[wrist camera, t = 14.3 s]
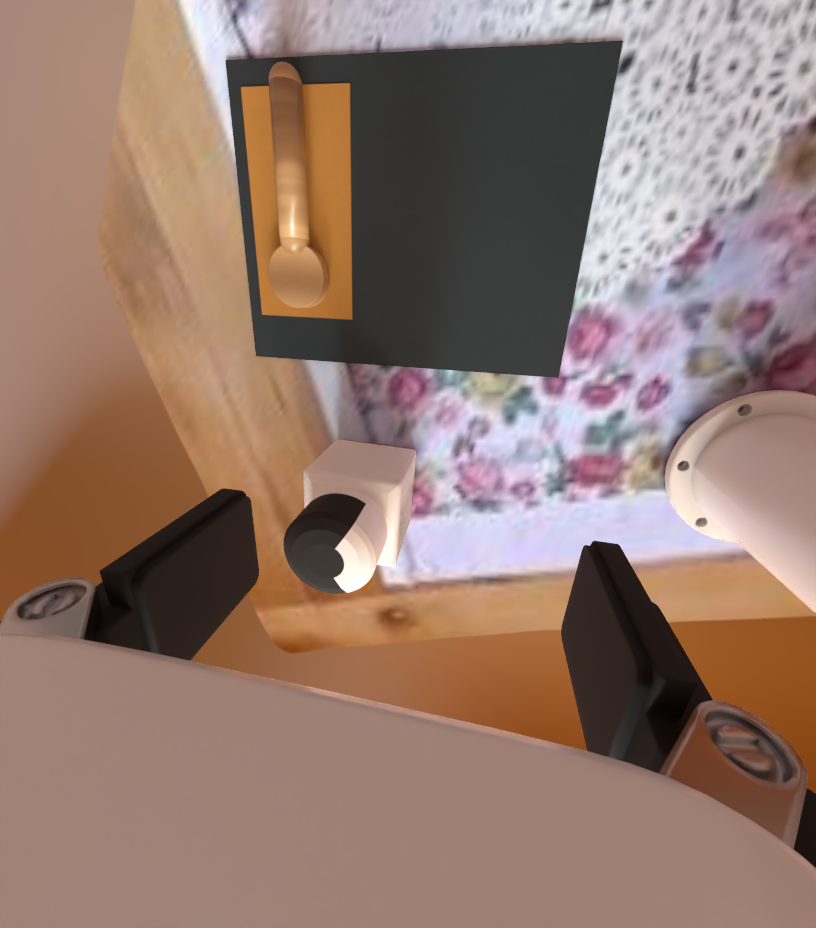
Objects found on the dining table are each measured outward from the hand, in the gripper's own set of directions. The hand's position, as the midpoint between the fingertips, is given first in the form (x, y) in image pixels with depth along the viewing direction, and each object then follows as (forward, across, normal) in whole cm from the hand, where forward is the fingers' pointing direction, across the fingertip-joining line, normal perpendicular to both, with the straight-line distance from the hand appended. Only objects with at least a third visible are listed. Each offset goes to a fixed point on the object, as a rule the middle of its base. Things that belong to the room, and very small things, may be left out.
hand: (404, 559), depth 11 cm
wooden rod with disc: (+24, +14, -13) cm, 30 cm away
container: (+24, +7, +9) cm, 27 cm away
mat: (+24, +5, -12) cm, 27 cm away
